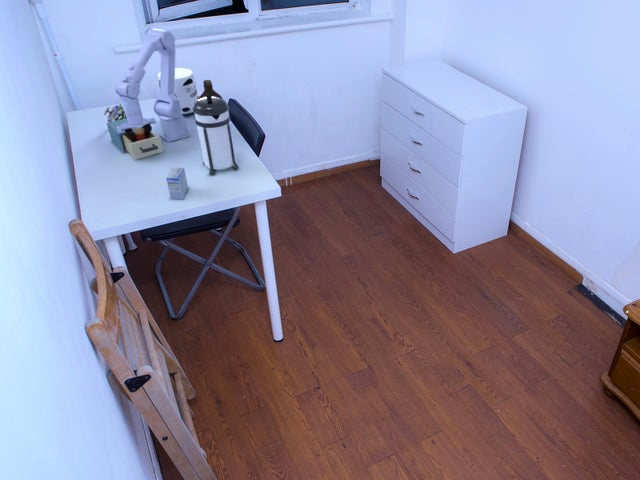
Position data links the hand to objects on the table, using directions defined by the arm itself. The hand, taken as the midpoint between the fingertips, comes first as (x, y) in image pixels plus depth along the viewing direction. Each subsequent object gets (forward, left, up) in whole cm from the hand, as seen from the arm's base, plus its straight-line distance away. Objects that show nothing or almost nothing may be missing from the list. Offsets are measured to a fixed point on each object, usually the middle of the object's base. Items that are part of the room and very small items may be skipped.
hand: (141, 143), depth 222 cm
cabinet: (0, -11, -4) cm, 12 cm away
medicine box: (+2, +40, -4) cm, 40 cm away
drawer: (0, +2, -3) cm, 3 cm away
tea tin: (0, 0, -2) cm, 2 cm away
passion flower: (-3, -31, -4) cm, 32 cm away
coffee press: (-19, +29, -4) cm, 34 cm away
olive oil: (-30, +5, -4) cm, 30 cm away
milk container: (-31, -31, -4) cm, 44 cm away
